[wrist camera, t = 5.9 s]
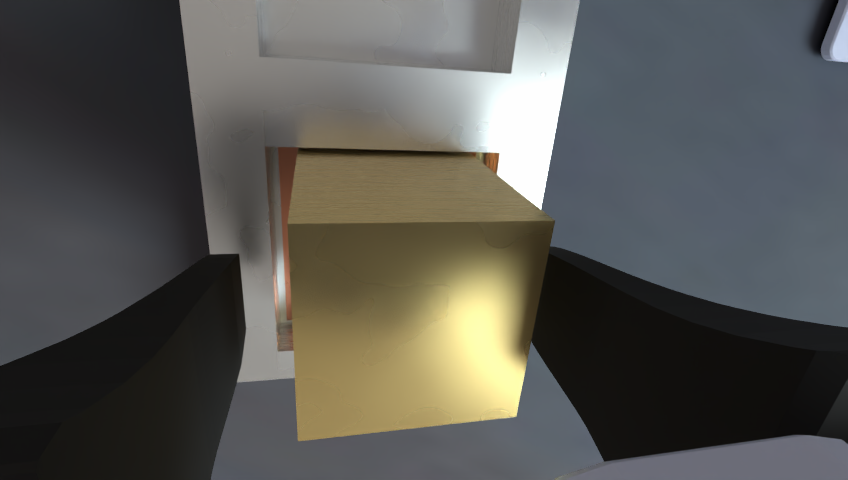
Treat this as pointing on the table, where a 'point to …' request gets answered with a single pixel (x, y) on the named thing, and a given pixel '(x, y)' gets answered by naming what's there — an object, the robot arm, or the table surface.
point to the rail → (357, 112)
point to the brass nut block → (409, 289)
